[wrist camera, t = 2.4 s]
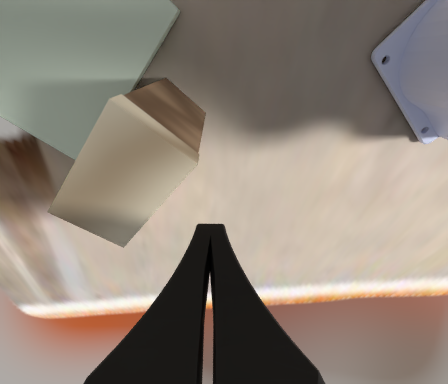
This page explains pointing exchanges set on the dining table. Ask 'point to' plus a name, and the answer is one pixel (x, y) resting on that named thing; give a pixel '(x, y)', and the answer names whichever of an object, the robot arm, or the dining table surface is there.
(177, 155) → the walnut block
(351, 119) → the dining table surface
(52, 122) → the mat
